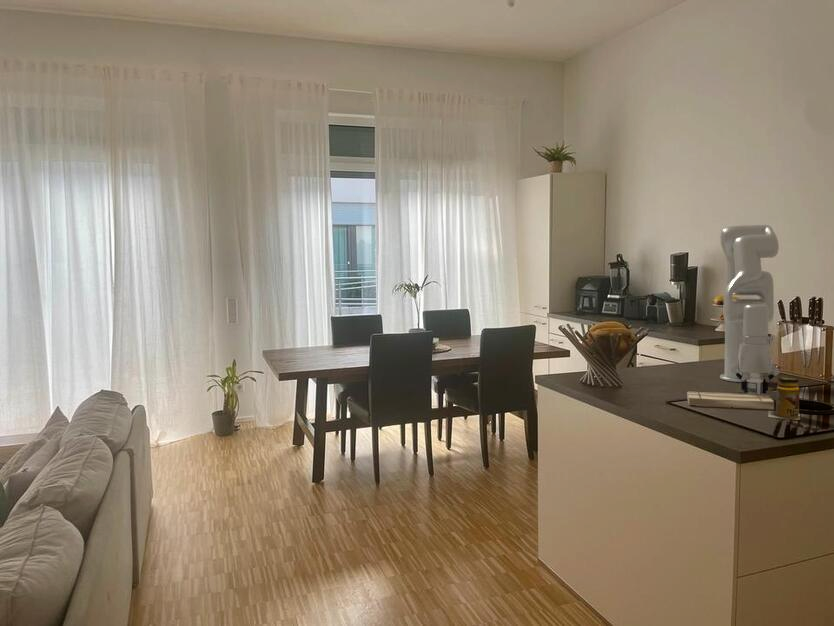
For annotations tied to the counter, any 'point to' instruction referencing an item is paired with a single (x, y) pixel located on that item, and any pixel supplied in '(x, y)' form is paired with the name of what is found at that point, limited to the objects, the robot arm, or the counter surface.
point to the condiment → (787, 399)
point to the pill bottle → (754, 384)
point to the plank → (730, 400)
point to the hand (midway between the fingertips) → (754, 391)
